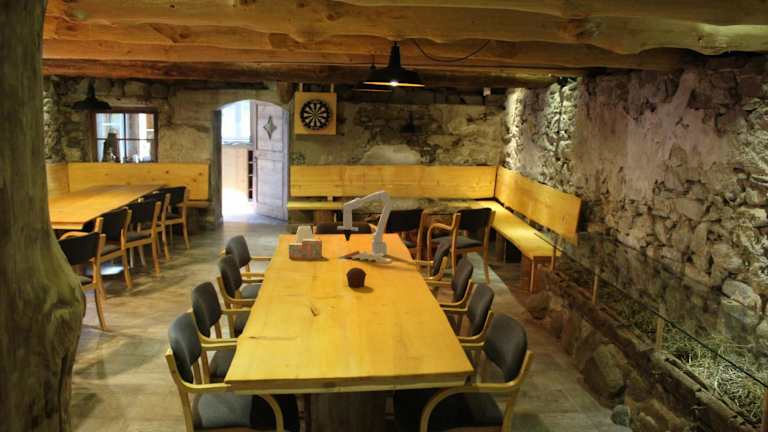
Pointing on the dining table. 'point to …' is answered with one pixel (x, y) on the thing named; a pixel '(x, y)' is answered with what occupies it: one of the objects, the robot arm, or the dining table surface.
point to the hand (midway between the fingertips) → (347, 240)
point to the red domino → (351, 254)
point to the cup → (303, 233)
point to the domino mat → (357, 259)
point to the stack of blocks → (306, 249)
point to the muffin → (356, 278)
